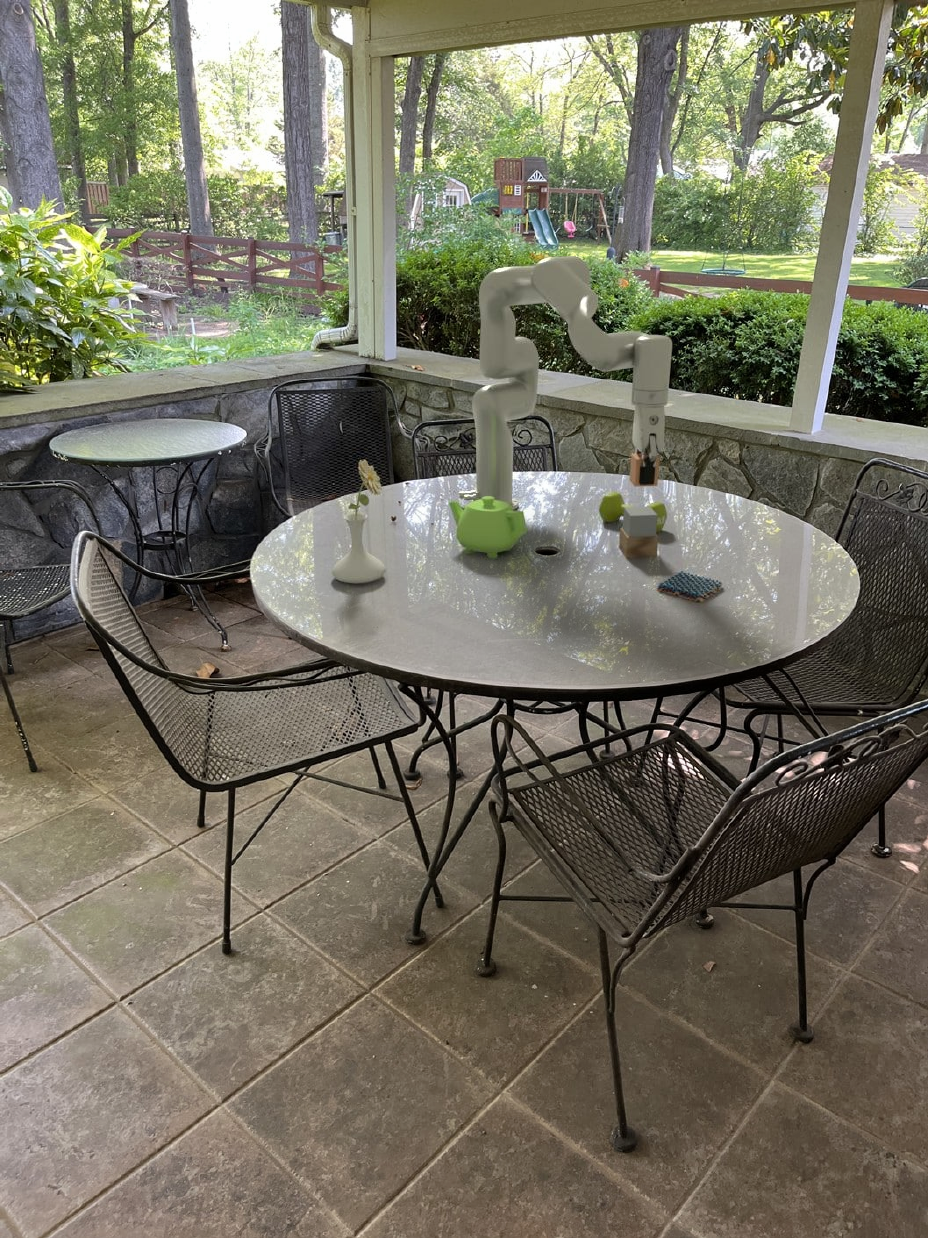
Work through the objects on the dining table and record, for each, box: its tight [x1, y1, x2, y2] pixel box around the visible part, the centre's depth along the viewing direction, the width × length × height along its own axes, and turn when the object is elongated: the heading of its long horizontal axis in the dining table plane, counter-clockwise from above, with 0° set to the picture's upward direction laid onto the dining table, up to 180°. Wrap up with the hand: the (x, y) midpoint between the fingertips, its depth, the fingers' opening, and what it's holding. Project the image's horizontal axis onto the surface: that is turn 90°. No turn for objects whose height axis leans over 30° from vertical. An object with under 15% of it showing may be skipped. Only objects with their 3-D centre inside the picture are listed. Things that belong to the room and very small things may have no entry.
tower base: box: [618, 527, 659, 559], centre depth 197 cm, size 7×7×5 cm
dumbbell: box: [598, 491, 668, 534], centre depth 214 cm, size 16×8×7 cm, turn 45°
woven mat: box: [656, 570, 723, 603], centre depth 178 cm, size 10×11×2 cm
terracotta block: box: [629, 453, 660, 487], centre depth 190 cm, size 5×5×6 cm
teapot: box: [448, 496, 528, 559], centre depth 198 cm, size 20×13×13 cm
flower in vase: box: [331, 459, 387, 584], centre depth 181 cm, size 13×11×25 cm
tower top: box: [622, 506, 657, 537], centre depth 195 cm, size 6×6×5 cm
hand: (643, 479), depth 191 cm, fingers closed on terracotta block, 4 cm apart
